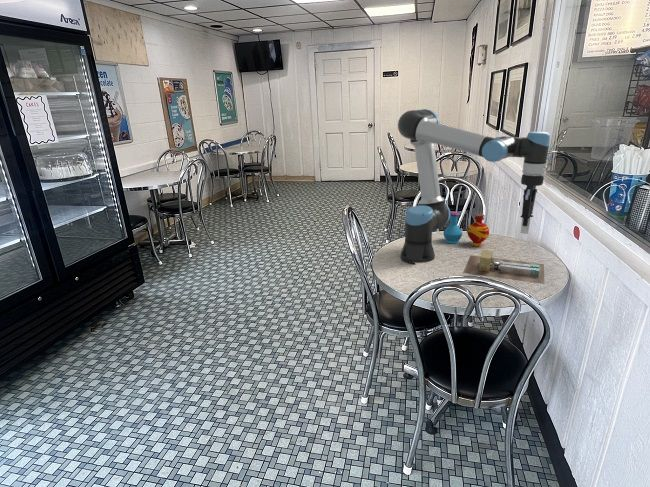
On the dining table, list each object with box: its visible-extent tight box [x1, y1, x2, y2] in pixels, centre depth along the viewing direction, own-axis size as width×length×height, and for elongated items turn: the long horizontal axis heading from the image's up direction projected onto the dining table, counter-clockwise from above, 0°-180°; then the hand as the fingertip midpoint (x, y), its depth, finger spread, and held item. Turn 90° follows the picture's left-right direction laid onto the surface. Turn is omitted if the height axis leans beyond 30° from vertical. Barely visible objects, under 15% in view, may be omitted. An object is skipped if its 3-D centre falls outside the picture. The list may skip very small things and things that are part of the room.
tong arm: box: [492, 260, 539, 269], centre depth 158 cm, size 17×4×3 cm, turn 67°
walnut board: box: [463, 255, 546, 285], centre depth 161 cm, size 29×21×1 cm
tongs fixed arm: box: [477, 261, 539, 277], centre depth 158 cm, size 23×4×3 cm, turn 63°
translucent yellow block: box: [479, 249, 494, 272], centre depth 162 cm, size 4×9×6 cm, turn 153°
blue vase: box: [442, 211, 463, 244], centre depth 196 cm, size 9×9×15 cm
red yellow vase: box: [466, 213, 490, 247], centre depth 190 cm, size 10×10×15 cm
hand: (524, 232), depth 157 cm, fingers closed
